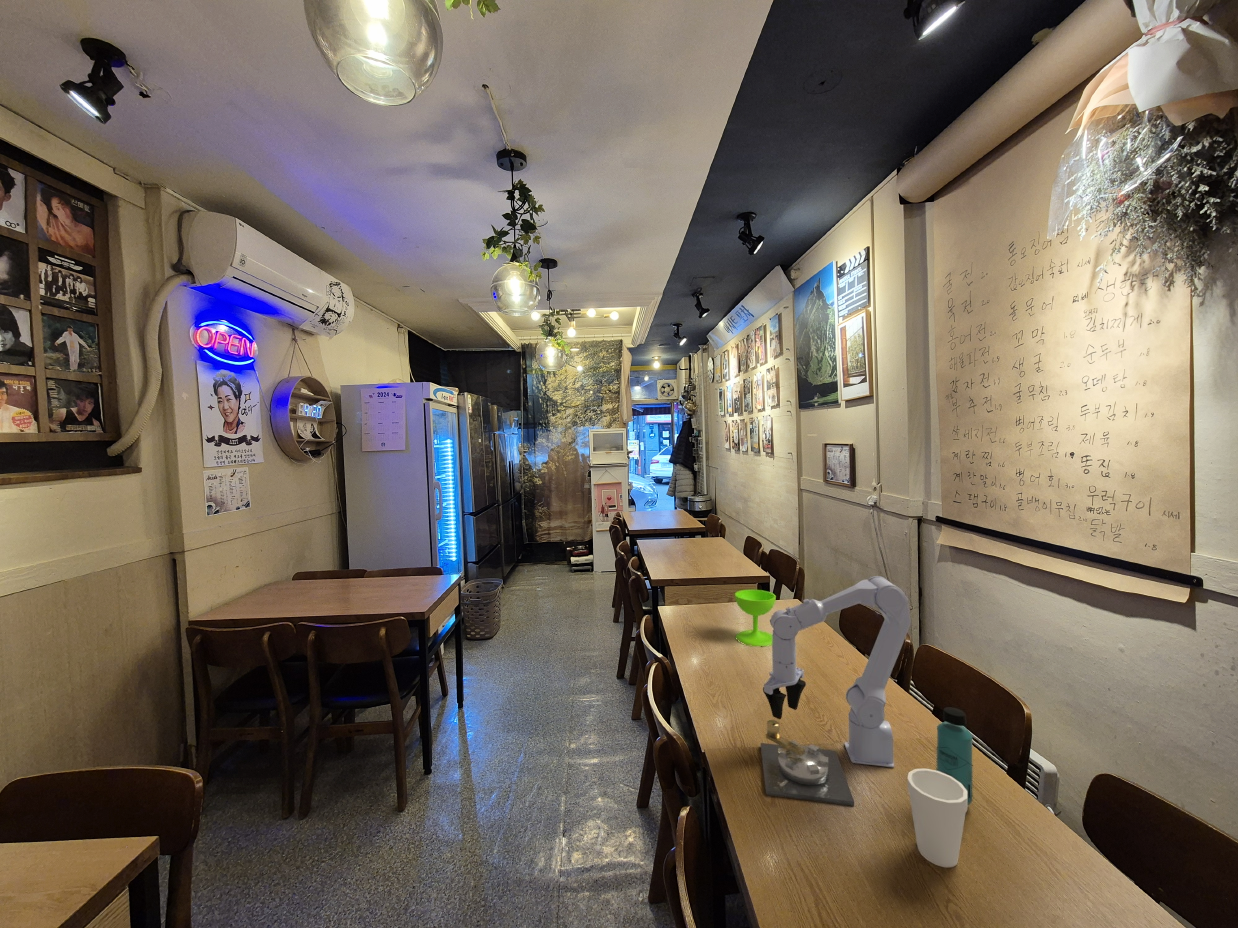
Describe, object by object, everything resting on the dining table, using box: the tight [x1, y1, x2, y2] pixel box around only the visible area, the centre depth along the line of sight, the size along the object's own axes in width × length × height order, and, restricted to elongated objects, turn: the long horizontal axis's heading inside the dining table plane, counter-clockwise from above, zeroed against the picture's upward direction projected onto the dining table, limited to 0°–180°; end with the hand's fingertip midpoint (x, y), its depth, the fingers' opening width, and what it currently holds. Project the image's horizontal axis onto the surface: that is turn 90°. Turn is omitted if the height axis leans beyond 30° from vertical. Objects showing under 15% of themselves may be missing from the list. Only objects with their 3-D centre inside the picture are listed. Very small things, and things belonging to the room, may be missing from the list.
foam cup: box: [906, 768, 969, 868], centre depth 90 cm, size 10×9×13 cm
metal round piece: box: [765, 719, 828, 785], centre depth 115 cm, size 15×11×7 cm
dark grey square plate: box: [760, 742, 855, 807], centre depth 114 cm, size 18×18×1 cm
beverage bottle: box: [935, 706, 974, 806], centre depth 103 cm, size 6×7×20 cm
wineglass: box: [734, 589, 777, 647], centre depth 196 cm, size 16×16×18 cm
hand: (784, 712), depth 123 cm, fingers open, 6 cm apart
